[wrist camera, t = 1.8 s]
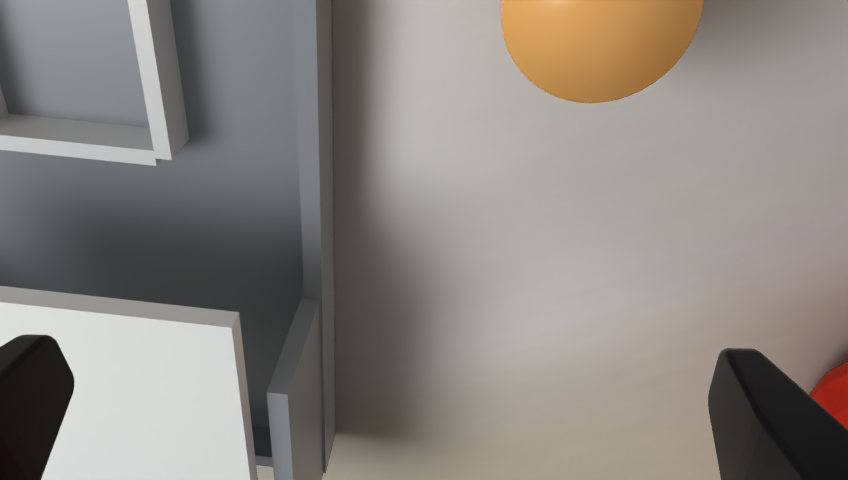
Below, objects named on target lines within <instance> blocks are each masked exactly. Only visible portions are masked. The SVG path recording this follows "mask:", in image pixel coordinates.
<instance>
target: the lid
mask: <svg viewBox="0 0 848 480" xmlns="http://www.w3.org/2000/svg"><path fill="white" fill-rule="evenodd" d="M26 334H32V335H49V336H51V337H53V338H54V339H55V340H56V341H57V343H58V345H59V347H60V349H61V351H62V353H63V355H64V357H65V359H66V361H67V363H68V365H69V367H70V369H71V371H72V373H73V375H74V391H73V395H72V398H71V400H70V403H69V406H68V408H67V411H66V414H65V416H64V419H63V422H62V425H61V427H60V430H59V433H58V435H57V438H56V441H55V443H54V446H53V449H52V452H51V454H50V457H49V460H48V462H47V465H46V468H45V470H44V473H43V476H42V478H41V480H258V477H257V468H256V459H255V450H254V441H253V432H252V424H251V415H250V406H249V397H248V388H247V379H246V370H245V361H244V353H243V344H242V335H241V326H240V317H239V312H233V311H224V310H215V309H206V308H197V307H188V306H179V305H170V304H161V303H152V302H143V301H134V300H125V299H116V298H107V297H98V296H88V295H79V294H70V293H61V292H52V291H43V290H34V289H25V288H16V287H7V286H0V347H1V346H2V345H4V344H6V343H7V342H9V341H11V340H12V339H14V338H16V337H18V336H20V335H26Z"/></svg>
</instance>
